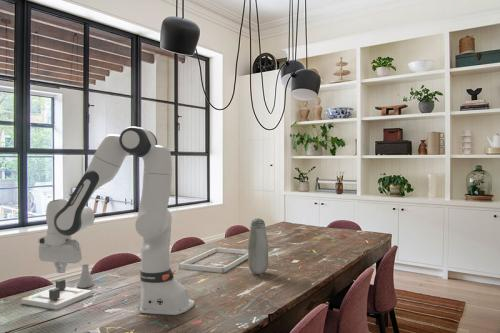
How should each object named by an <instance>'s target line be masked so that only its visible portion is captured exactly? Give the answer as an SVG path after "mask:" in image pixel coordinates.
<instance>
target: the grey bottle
mask: <svg viewBox="0 0 500 333" xmlns="http://www.w3.org/2000/svg"><path fill="white" fill-rule="evenodd" d="M249 227H250V229H249V234H248V239H247V250H248V259H247V261H248V268H249V271H251V273H252V274H255V275H262V274H264V273H266V272H267V271H268V267H269V239H268V235H267V231H266V230H267V229H266V223H265V221H264V219H261V218H260V217H259V218H254V219H253V220H252V221H251V223H250V226H249Z"/></svg>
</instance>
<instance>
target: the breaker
mask: <svg viewBox="0 0 500 333" xmlns="http://www.w3.org/2000/svg"><path fill="white" fill-rule="evenodd" d="M66 285H67V284H66V279H64V278H60V279H58V280H55V287H56V288H59V289H60V290H62V289H65V288H66V287H67V286H66Z"/></svg>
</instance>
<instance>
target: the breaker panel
mask: <svg viewBox="0 0 500 333" xmlns="http://www.w3.org/2000/svg"><path fill="white" fill-rule="evenodd" d="M54 288H56V286H55V287H51V288H48V289H46V290H43V291H39V292H37V293H35V294H31V295H28V296H26V297H22V298H21V304H22V305H27V306H32V307H38V308H44V309H50V310H54V311H55V310H56V311H57V310H60V309H63V308H64V307H67V306H69V305H72V304H75V303H76V302H77V303H78V302H79V301H81V300H84V299H86V298H88V297H89V298H90V297H91V296H93V290H90V289H84V288H79V287H70V286H66V288H65V289H62V290H60V298H58V299H55V300H49V290H51V289H54Z"/></svg>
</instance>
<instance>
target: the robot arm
mask: <svg viewBox="0 0 500 333" xmlns="http://www.w3.org/2000/svg"><path fill="white" fill-rule="evenodd" d="M129 155H132V156H133V155H134V156H135V157H138V158H142V161H143V173H142V174H143V176H142V178H143V179H142V189H141V190H142V191H141V197H140V201H139V205H138V212H137V218H136V221H135V227H134V228H135V230H136V233H137V234H138V235H139V236H141V237H143V240H142V246H141V251H140V253H141V254H140V258H141V259H140V262H141V263H140V264H141V265H140V266H141V268H140V269H141V270H140V276H139V277H140V281H141V285H140V286H141V287H140V295H139V301H138V303H137V308H138V309H139V313H140V314H141V313H142V314H154V315H168V316H170V315H171V316H176V315H180V314H182V313H186V312H188V311H189V310H190V309H192V308H193V307H194V305H195V300H193V299H190V298H189V292H188V290H187V288H186V287H185V286H184V285H183V284H181V283H180V282H179V281H178V280H176V278H175V277H174V276H175V274H176V270H174V271H172V269H171V266H170V265H171V264H170V262H171V261H170V245H171V235H172V219H173V218H172V213H171V212H170V210H169V209H168V207H169V201H170V197H171V190H172V174H173V164H172V162H173V161H172V155H171V150H170V149H169V148H167V147H166V146H163V145H158V139H157V136H156V135H155V134H154V133H153V132H151V131H150V130H148V129H146V128H144V127H138V126H128V127H125V129H123V131H121V133H120V134H114V133H110V134H107V135H105V138H103V140H102V141H101V142H100V144H99V146H97V149H96V151H95V152H94V154H93V157H92V159H91V161H90V163H89V165H88V167H87V169H86V171H85V172H84V174H83V175H82V177H81V178H80V180H79V182H78V184H77V185H76V187H75V189H74V191H73V192H72V194H71V195H70V197H69V199H68V198H66V197H65V198H63V197H62V198H59V199H58V198H57V199H53V200H51V201H49V202H48V203H47V205H46V212H45V218H46V219H45V220H46V221H45V222H46V225H47V228H46V229H47V230H46V235H45V236H42V237H40V238H38V240H37V242H38V244H39V245H38V259H39V261H41V262H50V263H53V266H54V267H55V269H56V274H65V273H66V268H67V266H68V264H73V265H75V264H78V263H80V262H81V261H82V260H83V257H82V250H81V246H80V243H79V242H78V240H77V239H72V235H74V234H76V233H78V232H80V231H83V230H85V229H89V227H91V226H92V225H93V224H94V222H95V217H96V216H95V211H94V210H93V209H92V208H91V207H89V206H87V205H88V203H89V201H90V199H91V197H92V195H93V194H95V192H96V191H97V190H98V189H100V188H101V187H102V186H105V184H107V183H109V182H111V181H113V179H114V178H115V177H116V176H117V174H118V173H119V171H120V169H121V166H122V165H123V163H124V161H125V159H126V157H127V156H129Z"/></svg>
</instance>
